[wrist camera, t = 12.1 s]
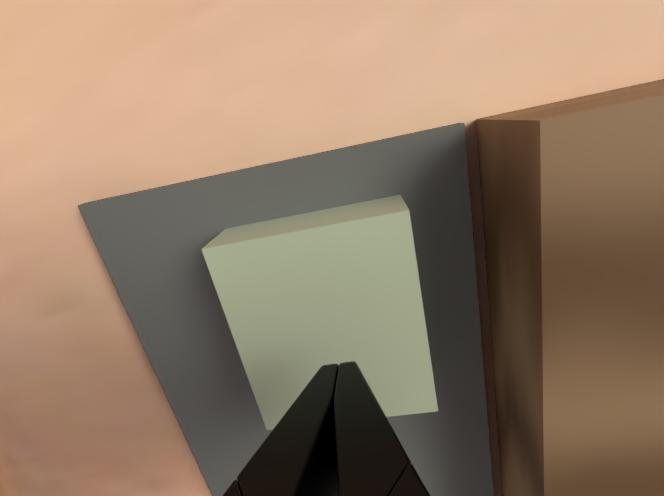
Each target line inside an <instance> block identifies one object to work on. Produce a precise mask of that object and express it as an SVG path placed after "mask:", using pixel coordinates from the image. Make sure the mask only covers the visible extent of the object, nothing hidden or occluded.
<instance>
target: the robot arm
mask: <svg viewBox="0 0 664 496" xmlns="http://www.w3.org/2000/svg"><path fill="white" fill-rule="evenodd" d="M222 496H430V494H429V492H428V490H427V489H426V487H425V485H424V484H423V482H422V480H421V479H420V477H419V475H418V473H417V471H416V470H415V468H414V466H413V465H412V464H411V461H410V459H409V457H408V456H407V454H406V452H405V450H404V448H403V446H402V445H401V443H400V441H399V439H398V437H397V436H396V434H395V432H394V430H393V428H392V426H391V425H390V423H389V421H388V419H387V417H386V416H385V414H384V412H383V410H382V408H381V406H380V405H379V403H378V401H377V399H376V397H375V396H374V394H373V392H372V390H371V388H370V387H369V385H368V383H367V381H366V379H365V377H364V376H363V374H362V372H361V370H360V368H359V367H358V365H357V363H356V362H355V361H350V362H343V363H340V364H339V365H338V364H336V363H335V364H328V365H323V366H321V367H320V369H319V370H318V371H317V372H316V374H315V375H314V376H313V378H312V379H311V380H310V382H309V383H308V384H307V386H306V387H305V388H304V390H303V391H302V392H301V393H300V395H299V396H298V397H297V399H296V400H295V401H294V403H293V404H292V405H291V407H290V408H289V409H288V410H287V412H286V413H285V414H284V416H283V417H282V418H281V420H280V421H279V422H278V424H277V425H276V426H275V428H274V429H273V430H272V431H271V433H270V434H269V435H268V437H267V438H266V439H265V441H264V442H263V443H262V445H261V446H260V447H259V449H258V450H257V451H256V452H255V454H254V455H253V456H252V458H251V459H250V460H249V462H248V463H247V464H246V466H245V467H244V468H243V469H242V471H241V472H240V473H239V475H238V476H237V480H234V481H233V482H232V484H231V485H230V486H229V488H228V489H227V490H226V492H225V493H224V494H223V495H222Z"/></svg>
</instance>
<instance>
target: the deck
mask: <svg viewBox="0 0 664 496" xmlns="http://www.w3.org/2000/svg"><path fill="white" fill-rule="evenodd" d="M476 122H477V136H478V151H479V166H480V180H481V195H482V210H483V224H484V239H485V254H486V268H487V283H488V297H489V312H490V327H491V341H492V356H493V371H494V385H495V400H496V415H497V429H498V444H499V459H500V473H501V488H502V496H664V79H663V80H658V81H653V82H649V83H644V84H639V85H635V86H630V87H625V88H621V89H616V90H611V91H607V92H602V93H597V94H593V95H588V96H583V97H579V98H574V99H569V100H565V101H560V102H555V103H551V104H546V105H541V106H536V107H532V108H527V109H522V110H518V111H513V112H508V113H504V114H499V115H494V116H490V117H485V118H480V119H476Z"/></svg>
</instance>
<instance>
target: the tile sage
mask: <svg viewBox="0 0 664 496" xmlns="http://www.w3.org/2000/svg"><path fill="white" fill-rule="evenodd" d="M201 250H202V253H203V255H204V258H205V261H206V264H207V266H208V269H209V272H210V275H211V278H212V280H213V283H214V286H215V289H216V291H217V294H218V297H219V300H220V302H221V305H222V308H223V311H224V313H225V316H226V319H227V322H228V324H229V327H230V330H231V333H232V335H233V338H234V341H235V344H236V346H237V349H238V352H239V355H240V358H241V360H242V363H243V366H244V369H245V371H246V374H247V377H248V380H249V382H250V385H251V388H252V391H253V393H254V396H255V399H256V402H257V404H258V407H259V410H260V413H261V415H262V418H263V421H264V424H265V427H266V429H267V430H273V429H274V428H275V426H276V425H277V424H278V422H279V421H280V420H281V418H282V417H283V416H284V414H285V413H286V412H287V410H288V409H289V408H290V407H291V405H292V404H293V403H294V401H295V400H296V399H297V397H298V396H299V395H300V393H301V392H302V391H303V390H304V388H305V387H306V386H307V384H308V383H309V382H310V380H311V379H312V378H313V376H314V375H315V374H316V372H317V371H318V370H319V369H320V367H321V366H323V365H328V364H335V363H336V364H338V365H339V364H340V363H343V362H350V361H355V362H356V363H357V365H358V367H359V368H360V370H361V372H362V374H363V376H364V377H365V379H366V381H367V383H368V385H369V387H370V388H371V390H372V392H373V394H374V396H375V397H376V399H377V401H378V403H379V405H380V406H381V408H382V410H383V412H384V414H385V416H386V417H391V416H400V415H409V414H418V413H427V412H436V411H438V406H437V399H436V392H435V385H434V378H433V371H432V364H431V357H430V350H429V343H428V336H427V330H426V323H425V316H424V309H423V302H422V295H421V288H420V281H419V274H418V267H417V260H416V253H415V246H414V239H413V232H412V226H411V219H410V212H409V209H408V207H407V205H406V203H405V202H404V200H403V198H402V196H401V195H396V196H391V197H385V198H380V199H375V200H370V201H365V202H360V203H355V204H350V205H345V206H339V207H334V208H329V209H324V210H319V211H314V212H309V213H304V214H298V215H293V216H288V217H283V218H278V219H273V220H268V221H263V222H257V223H252V224H247V225H242V226H237V227H232V228H227V229H225V230H223V231H222V232H221V233H220V234H219V235H217V236H216V237H215V238H214V239H213V240H212V241H210V242H209V243H208V244H207V245H206V246H205V247H203V248H202V249H201Z"/></svg>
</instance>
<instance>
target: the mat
mask: <svg viewBox="0 0 664 496" xmlns="http://www.w3.org/2000/svg"><path fill="white" fill-rule="evenodd" d="M396 195H401V196H402V198H403V200H404V202H405V203H406V205H407V207H408V209H409V212H410V219H411V226H412V232H413V239H414V246H415V253H416V260H417V267H418V274H419V281H420V288H421V295H422V302H423V309H424V316H425V323H426V330H427V336H428V343H429V350H430V357H431V364H432V371H433V378H434V385H435V392H436V399H437V406H438V411H436V412H427V413H418V414H409V415H400V416H391V417H387V419H388V421H389V423H390V425H391V426H392V428H393V430H394V432H395V434H396V436H397V437H398V439H399V441H400V443H401V445H402V446H403V448H404V450H405V452H406V454H407V456H408V457H409V459H410V461H411V464H412V465H413V466H414V468H415V470H416V471H417V473H418V475H419V477H420V479H421V480H422V482H423V484H424V485H425V487H426V489H427V490H428V492H429V494H430V496H494V491H493V478H492V466H491V453H490V440H489V428H488V415H487V403H486V390H485V377H484V365H483V352H482V340H481V327H480V315H479V302H478V289H477V277H476V264H475V252H474V239H473V226H472V214H471V201H470V189H469V176H468V163H467V151H466V138H465V126H464V123H457V124H452V125H448V126H443V127H438V128H434V129H429V130H424V131H420V132H415V133H410V134H406V135H401V136H396V137H392V138H387V139H382V140H378V141H373V142H368V143H364V144H359V145H354V146H349V147H345V148H340V149H335V150H331V151H326V152H321V153H317V154H312V155H307V156H303V157H298V158H293V159H289V160H284V161H279V162H275V163H270V164H265V165H261V166H256V167H251V168H247V169H242V170H237V171H233V172H228V173H223V174H219V175H214V176H209V177H205V178H200V179H195V180H191V181H186V182H181V183H177V184H172V185H167V186H162V187H158V188H153V189H148V190H144V191H139V192H134V193H130V194H125V195H120V196H116V197H111V198H106V199H102V200H97V201H92V202H88V203H85V204H81V205H78V208H79V210H80V212H81V214H82V216H83V218H84V221H85V223H86V225H87V227H88V229H89V231H90V233H91V236H92V238H93V240H94V242H95V244H96V246H97V249H98V251H99V253H100V255H101V257H102V259H103V261H104V264H105V266H106V268H107V270H108V272H109V274H110V277H111V279H112V281H113V283H114V285H115V287H116V289H117V292H118V294H119V296H120V298H121V300H122V302H123V305H124V307H125V309H126V311H127V313H128V315H129V317H130V320H131V322H132V324H133V326H134V328H135V330H136V333H137V335H138V337H139V339H140V341H141V343H142V345H143V348H144V350H145V352H146V354H147V356H148V358H149V361H150V363H151V365H152V367H153V369H154V371H155V373H156V376H157V378H158V380H159V382H160V384H161V386H162V389H163V391H164V393H165V395H166V397H167V399H168V401H169V404H170V406H171V408H172V410H173V412H174V414H175V417H176V419H177V421H178V423H179V425H180V427H181V429H182V432H183V434H184V436H185V438H186V440H187V442H188V445H189V447H190V449H191V451H192V453H193V455H194V457H195V460H196V462H197V464H198V466H199V468H200V470H201V473H202V475H203V477H204V479H205V481H206V483H207V485H208V488H209V490H210V492H211V494H212V496H222V495H223V494H224V493H225V492H226V490H227V489H228V488H229V486H230V485H231V484H232V482H233V481H234V480H237V476H238V475H239V473H240V472H241V471H242V469H243V468H244V467H245V466H246V464H247V463H248V462H249V460H250V459H251V458H252V456H253V455H254V454H255V452H256V451H257V450H258V449H259V447H260V446H261V445H262V443H263V442H264V441H265V439H266V438H267V437H268V435H269V434H270V433H271V431H272V430H267V429H266V427H265V424H264V421H263V418H262V415H261V413H260V410H259V407H258V404H257V402H256V399H255V396H254V393H253V391H252V388H251V385H250V382H249V380H248V377H247V374H246V371H245V369H244V366H243V363H242V360H241V358H240V355H239V352H238V349H237V346H236V344H235V341H234V338H233V335H232V333H231V330H230V327H229V324H228V322H227V319H226V316H225V313H224V311H223V308H222V305H221V302H220V300H219V297H218V294H217V291H216V289H215V286H214V283H213V280H212V278H211V275H210V272H209V269H208V266H207V264H206V261H205V258H204V255H203V253H202V250H201V249H202V248H203V247H205V246H206V245H207V244H208V243H209V242H210V241H212V240H213V239H214V238H215V237H216V236H217V235H219V234H220V233H221V232H222V231H223V230H225V229H227V228H232V227H237V226H242V225H247V224H252V223H257V222H263V221H268V220H273V219H278V218H283V217H288V216H293V215H298V214H304V213H309V212H314V211H319V210H324V209H329V208H334V207H339V206H345V205H350V204H355V203H360V202H365V201H370V200H375V199H380V198H385V197H391V196H396Z"/></svg>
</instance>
